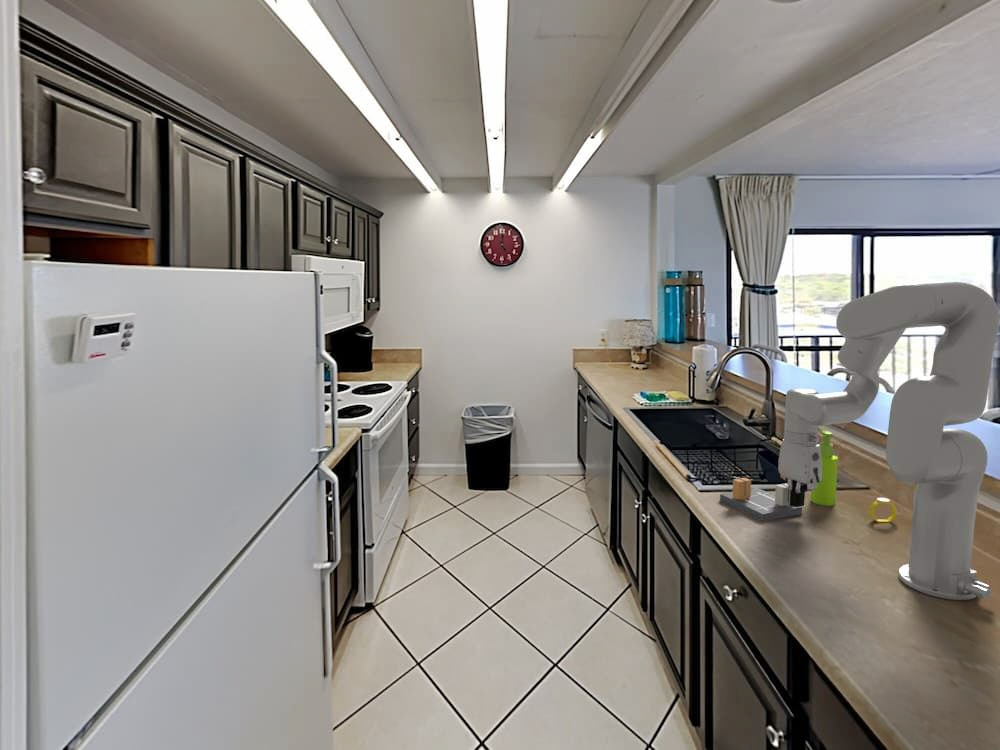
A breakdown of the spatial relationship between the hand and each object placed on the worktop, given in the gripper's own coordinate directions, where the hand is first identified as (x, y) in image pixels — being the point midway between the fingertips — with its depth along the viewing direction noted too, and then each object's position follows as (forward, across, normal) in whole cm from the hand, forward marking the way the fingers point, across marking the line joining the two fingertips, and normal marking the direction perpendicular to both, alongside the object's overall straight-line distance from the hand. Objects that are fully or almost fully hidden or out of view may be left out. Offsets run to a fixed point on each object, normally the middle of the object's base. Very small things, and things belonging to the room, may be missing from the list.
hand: (796, 505), depth 145 cm
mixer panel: (+3, +9, +4) cm, 10 cm away
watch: (+4, -10, -18) cm, 20 cm away
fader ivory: (+1, +4, 0) cm, 4 cm away
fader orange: (+1, +12, +7) cm, 14 cm away
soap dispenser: (+4, +6, -16) cm, 17 cm away
